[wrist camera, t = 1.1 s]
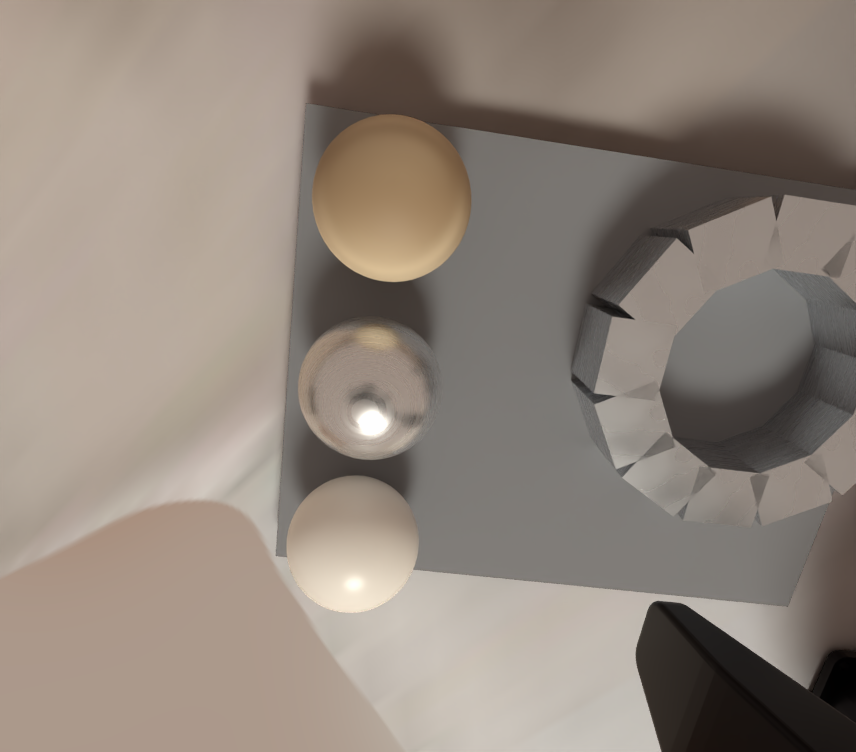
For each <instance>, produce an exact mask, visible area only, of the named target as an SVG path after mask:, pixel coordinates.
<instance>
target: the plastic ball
mask: <svg viewBox="0 0 856 752" xmlns="http://www.w3.org/2000/svg"><path fill="white" fill-rule="evenodd" d="M418 547H419V535H418V528H417V523H416V520H415V517H414V515H413V512H412V510H411V508H410V506H409V505H408V503H407V502H406V501H405V499H404V498H403V497H402V496H401V495H400V494H399V493H398V492H397V491H396V490H395V489H394V488H392V487H391V486H390V485H388V484H386V483H384V482H382V481H380V480H378V479H375V478H372V477H367V476H359V475H353V476H344V477H339V478H336V479H332V480H330V481H328V482H326V483H324V484H322V485H321V486H319V487H318V488H316V489H315V490H313V491H312V492H311V493H310V494H309V495H308V496H307V497H306V498H305V499H304V500H303V501H302V503H301V504H300V506H299V507H298V508H297V510H296V512H295V514H294V516H293V518H292V520H291V523H290V527H289V530H288V535H287V559H288V564H289V567H290V571H291V573H292V575H293V577H294V579H295V581H296V583H297V584H298V586H299V587H300V589H301V590H302V591H303V592H304V593H305V594H306V595H307V596H308V597H309V598H310V599H311V600H312V601H314V602H315V603H317V604H319V605H320V606H322V607H325V608H327V609H330V610H333V611H337V612H344V613H356V612H363V611H367V610H370V609H373V608H376V607H378V606H380V605H382V604H383V603H385V602H387V601H388V600H390V599H391V598H392V597H393V596H394V595H395V594H396V593H398V592H399V590H400V589H401V588H402V587H403V586H404V585H405V583H406V582H407V580H408V578H409V577H410V575H411V573H412V571H413V568H414V566H415V563H416V559H417V555H418Z"/></svg>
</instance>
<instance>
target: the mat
mask: <svg viewBox="0 0 856 752" xmlns="http://www.w3.org/2000/svg"><path fill="white" fill-rule="evenodd" d="M377 115H378V114H372V113H365V112H359V111H353V110H346V109H340V108H334V107H327V106H321V105H315V104H308V103H306V109H305V124H304V139H303V154H302V169H301V184H300V199H299V214H298V229H297V244H296V259H295V275H294V290H293V305H292V320H291V335H290V350H289V365H288V380H287V395H286V410H285V425H284V440H283V455H282V470H281V485H280V500H279V515H278V530H277V545H276V556H281V557H287V535H288V530H289V527H290V523H291V520H292V518H293V516H294V514H295V512H296V510H297V508H298V507H299V506H300V504H301V503H302V501H303V500H304V499H305V498H306V497H307V496H308V495H309V494H310V493H311V492H312V491H313V490H315V489H316V488H318V487H319V486H321V485H322V484H324V483H326V482H328V481H330V480H332V479H336V478H339V477H344V476H353V475H359V476H367V477H372V478H375V479H378V480H380V481H382V482H384V483H386V484H388V485H390V486H391V487H392V488H394V489H395V490H396V491H397V492H398V493H399V494H400V495H401V496H402V497H403V498H404V499H405V501H406V502H407V503H408V505H409V506H410V508H411V510H412V512H413V515H414V517H415V520H416V523H417V528H418V535H419V547H418V555H417V559H416V563H415V566H414V568H413V570H423V571H433V572H443V573H453V574H463V575H473V576H483V577H493V578H504V579H514V580H524V581H534V582H544V583H554V584H564V585H574V586H585V587H595V588H605V589H615V590H625V591H635V592H645V593H655V594H666V595H676V596H686V597H696V598H706V599H716V600H726V601H736V602H747V603H757V604H767V605H777V606H787V607H788V605H789V603H790V600H791V598H792V595H793V593H794V590H795V588H796V585H797V583H798V580H799V577H800V575H801V572H802V570H803V567H804V565H805V562H806V560H807V557H808V555H809V552H810V550H811V547H812V545H813V542H814V540H815V537H816V535H817V532H818V530H819V527H820V525H821V522H822V520H823V517H824V515H825V512H826V510H827V507H828V505H829V503H827V504H824V505H821V506H818V507H815V508H813V509H810V510H807V511H804V512H801V513H799V514H796V515H793V516H790V517H787V518H784V519H782V520H779V521H776V522H773V523H770V524H767V525H765V526H761V525H760V524H759V523H758V522H756V521H755V520H754V521H753V523H752V526H751V528H748V527H739V526H730V525H721V524H712V523H702V522H693V521H684V520H682V519H681V518H680V517H679V515H678V514H677V513H676V514H675V515H674V516H672V515H670V514H669V513H668V512H666V511H665V510H664V509H663V508H661V507H660V506H659V505H657V504H656V503H655V502H653V501H652V500H651V499H649V498H648V497H647V496H645V495H644V494H643V493H641V492H640V491H639V490H637V489H636V488H635V487H634V486H632V485H631V484H630V483H628V482H627V481H626V480H624V479H623V478H622V477H621V476H620V475H619V474H618V472H617V471H616V470H615V469H614V467H613V466H612V465H611V464H610V462H609V461H608V460H607V459H606V457H605V456H604V455H603V454H602V452H601V451H600V450H599V449H598V448H597V446H596V444H595V443H594V442H593V441H592V439H591V438H590V435H589V432H588V429H587V426H586V423H585V420H584V417H583V414H582V411H581V409H580V406H579V403H578V400H577V397H576V394H575V391H574V388H573V385H572V382H571V380H574V379H577V378H578V377H577V376H576V375H575V374H573V373H572V372H571V366H572V362H573V357H574V353H575V348H576V344H577V339H578V335H579V330H580V326H581V321H582V317H583V313H584V308H585V304H594V305H601V306H605V305H604V304H603V303H602V302H601V301H599V300H598V299H597V298H596V297H595V296H593V295H592V294H591V292H592V291H593V290H594V289H595V288H596V286H597V285H598V284H599V283H600V282H601V281H602V279H603V278H604V277H605V276H606V275H607V274H608V272H609V271H610V270H611V269H612V268H613V267H614V265H615V264H616V263H617V262H618V261H619V260H620V258H621V257H622V256H623V255H624V254H625V253H626V251H627V250H628V249H629V248H630V247H631V246H632V244H633V243H634V242H635V241H636V240H637V238H638V237H639V236H640V235H643V236H652V234H651V230H650V228H652V227H654V226H657V225H659V224H661V223H664V222H666V221H669V220H671V219H674V218H676V217H679V216H681V215H684V214H686V213H689V212H691V211H693V210H696V209H698V208H701V207H703V206H706V205H708V204H711V203H713V202H716V201H718V200H720V199H732V198H737V197H754V196H771V195H790V196H796V197H803V198H809V199H816V200H822V201H829V202H835V203H841V204H848V205H854V206H856V190H854V189H847V188H841V187H835V186H828V185H822V184H816V183H809V182H803V181H796V180H790V179H784V178H777V177H771V176H765V175H758V174H752V173H746V172H739V171H733V170H727V169H720V168H714V167H708V166H701V165H695V164H689V163H682V162H676V161H670V160H663V159H657V158H651V157H644V156H638V155H632V154H625V153H619V152H613V151H606V150H600V149H594V148H587V147H581V146H575V145H568V144H562V143H556V142H549V141H543V140H537V139H530V138H524V137H518V136H511V135H505V134H499V133H492V132H486V131H480V130H473V129H467V128H460V127H454V126H448V125H441V124H435V123H429V122H425V123H426V124H428V125H430V126H432V127H433V128H435V129H436V130H437V131H439V132H440V133H441V134H442V135H443V136H444V137H446V138H447V139H448V140H449V141H450V143H451V144H452V145H453V147H454V148H455V149H456V150H457V152H458V154H459V156H460V157H461V159H462V161H463V163H464V166H465V168H466V170H467V174H468V177H469V181H470V187H471V202H472V203H471V213H470V218H469V223H468V226H467V229H466V231H465V234H464V236H463V238H462V240H461V242H460V244H459V245H458V247H457V248H456V250H455V251H454V253H453V254H452V255H451V256H450V257H449V258H448V259H447V260H446V261H445V262H444V263H443V264H442V265H441V266H439V267H438V268H436V269H435V270H433V271H432V272H430V273H428V274H426V275H424V276H422V277H419V278H416V279H413V280H408V281H402V282H385V281H379V280H374V279H371V278H368V277H365V276H363V275H361V274H359V273H356V272H354V271H353V270H351V269H350V268H348V267H347V266H346V265H344V264H343V263H342V262H341V261H340V260H339V259H338V258H337V257H336V256H335V255H334V254H333V253H332V252H331V251H330V249H329V248H328V246H327V245H326V243H325V242H324V240H323V238H322V236H321V234H320V232H319V229H318V227H317V224H316V221H315V217H314V213H313V205H312V188H313V180H314V176H315V172H316V169H317V166H318V164H319V161H320V159H321V157H322V155H323V154H324V152H325V150H326V148H327V147H328V146H329V145H330V143H331V142H332V141H333V140H334V139H335V138H336V137H337V136H338V135H339V134H340V133H341V132H342V131H343V130H345V129H346V128H348V127H349V126H350V125H352V124H354V123H356V122H358V121H360V120H363V119H366V118H368V117H372V116H377ZM365 316H375V317H383V318H388V319H392V320H395V321H398V322H400V323H402V324H404V325H406V326H408V327H409V328H411V329H412V330H414V331H415V332H416V333H417V334H419V335H420V336H421V337H422V338H423V339H424V340H425V342H426V343H427V344H428V345H429V347H430V348H431V350H432V351H433V353H434V355H435V357H436V359H437V361H438V364H439V367H440V371H441V376H442V387H443V390H442V400H441V405H440V409H439V411H438V414H437V417H436V419H435V421H434V423H433V424H432V426H431V428H430V429H429V431H428V432H427V433H426V434H425V435H424V437H423V438H422V439H421V440H420V441H418V442H417V443H416V444H415V445H413V446H412V447H411V448H409V449H408V450H406V451H404V452H402V453H400V454H398V455H395V456H392V457H389V458H384V459H378V460H362V459H356V458H352V457H348V456H345V455H343V454H340V453H338V452H336V451H334V450H333V449H331V448H329V447H328V446H327V445H325V444H324V443H323V442H322V441H321V440H320V439H319V438H318V437H317V436H316V435H315V434H314V433H313V431H312V430H311V429H310V427H309V425H308V424H307V422H306V420H305V418H304V415H303V413H302V410H301V407H300V403H299V397H298V380H299V373H300V370H301V366H302V363H303V361H304V359H305V357H306V354H307V353H308V351H309V349H310V348H311V346H312V345H313V344H314V343H315V341H316V340H317V339H318V338H319V337H320V336H321V335H322V334H324V333H325V332H326V331H327V330H329V329H330V328H332V327H333V326H335V325H337V324H339V323H341V322H343V321H346V320H349V319H352V318H357V317H365ZM813 347H814V341H813V335H812V330H811V325H810V320H809V315H808V309H807V304H806V300H805V299H804V298H803V297H802V296H801V295H800V294H799V293H798V292H797V291H796V290H795V289H794V288H793V287H792V286H791V285H790V284H789V283H788V282H786V281H785V280H784V279H783V278H782V277H781V276H780V275H779V274H778V273H777V272H776V271H775V270H774V269H771V270H768V271H766V272H763V273H761V274H758V275H756V276H753V277H751V278H748V279H746V280H743V281H740V282H738V283H735V284H733V285H730V286H728V287H725V288H723V289H720V290H718V291H716V292H715V293H714V294H713V295H712V296H711V297H710V298H709V299H708V300H707V301H706V302H705V304H704V305H703V306H702V307H701V308H700V309H699V310H698V311H697V312H696V313H695V314H694V316H693V317H692V318H691V319H690V320H689V321H688V322H687V323H686V324H685V325H684V326H683V328H682V329H681V330H680V331H679V332H678V333H677V334H676V335H675V336H674V339H673V343H672V346H671V350H670V354H669V357H668V361H667V364H666V368H665V372H664V375H663V379H662V382H661V386H660V390H659V391H660V395H661V398H662V402H663V405H664V409H665V412H666V416H667V419H668V422H669V426H670V429H671V433H672V436H673V437H679V438H687V439H695V440H704V441H712V442H719V441H722V440H725V439H727V438H730V437H733V436H736V435H738V434H741V433H744V432H746V431H749V430H752V429H754V428H757V427H760V426H763V425H764V424H765V423H766V422H767V421H768V420H769V419H770V418H771V417H772V416H773V415H774V414H775V413H776V412H777V411H778V410H779V409H780V408H781V407H782V406H783V405H784V404H785V403H786V402H787V401H788V400H789V399H790V398H791V397H792V396H793V395H794V394H795V393H796V392H797V391H798V389H799V386H800V383H801V381H802V378H803V375H804V372H805V369H806V366H807V364H808V361H809V358H810V355H811V352H812V350H813ZM830 492H831V497H832V494H833V492H834V490H833V489H832V488H830Z"/></svg>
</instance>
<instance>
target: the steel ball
mask: <svg viewBox="0 0 856 752" xmlns="http://www.w3.org/2000/svg"><path fill="white" fill-rule="evenodd" d="M442 390H443V387H442V376H441V371H440V367H439V364H438V361H437V359H436V357H435V355H434V353H433V351H432V350H431V348H430V347H429V345H428V344H427V343H426V342H425V340H424V339H423V338H422V337H421V336H420V335H419V334H417V333H416V332H415V331H414V330H412V329H411V328H409V327H408V326H406V325H404V324H402V323H400V322H398V321H395V320H392V319H388V318H383V317H375V316H365V317H357V318H352V319H349V320H346V321H343V322H341V323H339V324H337V325H335V326H333V327H332V328H330V329H329V330H327V331H326V332H325V333H324V334H322V335H321V336H320V337H319V338H318V339H317V340H316V341H315V343H314V344H313V345H312V346H311V348H310V349H309V351H308V353H307V354H306V357H305V359H304V361H303V363H302V366H301V370H300V373H299V380H298V397H299V403H300V407H301V410H302V413H303V415H304V418H305V420H306V422H307V424H308V425H309V427H310V429H311V430H312V431H313V433H314V434H315V435H316V436H317V437H318V438H319V439H320V440H321V441H322V442H323V443H324V444H325V445H327V446H328V447H329V448H331V449H333V450H334V451H336V452H338V453H340V454H343V455H345V456H348V457H352V458H356V459H362V460H378V459H384V458H389V457H392V456H395V455H398V454H400V453H402V452H404V451H406V450H408V449H409V448H411V447H412V446H413V445H415V444H416V443H417V442H418V441H420V440H421V439H422V438H423V437H424V435H425V434H426V433H427V432H428V431H429V429H430V428H431V426H432V424H433V423H434V421H435V419H436V417H437V414H438V411H439V409H440V405H441V400H442Z"/></svg>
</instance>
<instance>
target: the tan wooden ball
mask: <svg viewBox="0 0 856 752" xmlns="http://www.w3.org/2000/svg"><path fill="white" fill-rule="evenodd" d="M471 203H472V202H471V187H470V181H469V177H468V174H467V170H466V168H465V166H464V163H463V161H462V159H461V157H460V156H459V154H458V152H457V150H456V149H455V148H454V147H453V145H452V144H451V143H450V141H449V140H448V139H447V138H446V137H444V136H443V135H442V134H441V133H440V132H439V131H437V130H436V129H435V128H433V127H432V126H430V125H428V124H426V123H425V122H423V121H420V120H418V119H415V118H412V117H408V116H404V115H395V114H386V115H377V116H372V117H368V118H366V119H363V120H360V121H358V122H356V123H354V124H352V125H350V126H349V127H348V128H346V129H345V130H343V131H342V132H341V133H340V134H339V135H338V136H337V137H336V138H335V139H334V140H333V141H332V142H331V143H330V145H329V146H328V147H327V148H326V150H325V152H324V154H323V155H322V157H321V159H320V161H319V164H318V166H317V169H316V172H315V176H314V180H313V188H312V205H313V213H314V217H315V221H316V224H317V227H318V229H319V232H320V234H321V236H322V238H323V240H324V242H325V243H326V245H327V246H328V248H329V249H330V251H331V252H332V253H333V254H334V255H335V256H336V257H337V258H338V259H339V260H340V261H341V262H342V263H343V264H344V265H346V266H347V267H348V268H350V269H351V270H353V271H354V272H356V273H359V274H361V275H363V276H365V277H368V278H371V279H374V280H379V281H385V282H402V281H408V280H413V279H416V278H419V277H422V276H424V275H426V274H428V273H430V272H432V271H433V270H435V269H436V268H438V267H439V266H441V265H442V264H443V263H444V262H445V261H446V260H447V259H448V258H449V257H450V256H451V255H452V254H453V253H454V251H455V250H456V248H457V247H458V245H459V244H460V242H461V240H462V238H463V236H464V234H465V231H466V229H467V226H468V223H469V218H470V213H471Z"/></svg>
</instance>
